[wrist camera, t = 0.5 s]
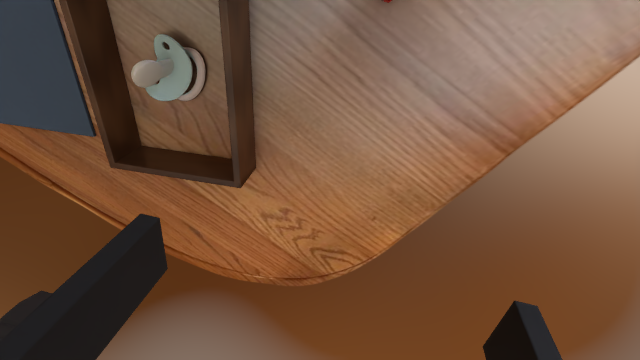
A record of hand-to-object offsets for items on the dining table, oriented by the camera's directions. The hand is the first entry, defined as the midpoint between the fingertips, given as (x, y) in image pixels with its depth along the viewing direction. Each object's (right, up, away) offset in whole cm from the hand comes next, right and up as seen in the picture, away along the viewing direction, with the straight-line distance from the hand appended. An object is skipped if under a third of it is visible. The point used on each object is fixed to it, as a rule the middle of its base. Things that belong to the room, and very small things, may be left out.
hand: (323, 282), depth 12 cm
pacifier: (-16, +16, +25) cm, 33 cm away
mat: (-37, +20, +27) cm, 50 cm away
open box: (-16, +16, +24) cm, 33 cm away
